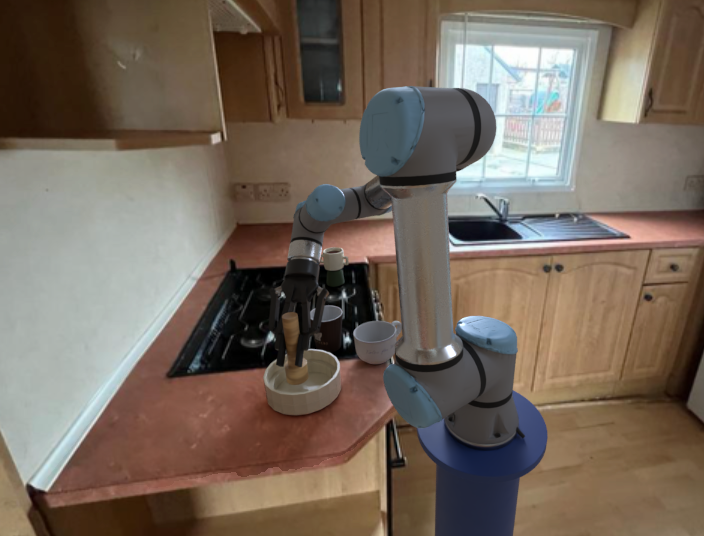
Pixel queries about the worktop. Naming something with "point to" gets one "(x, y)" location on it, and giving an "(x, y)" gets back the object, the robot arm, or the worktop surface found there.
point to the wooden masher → (293, 350)
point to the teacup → (376, 340)
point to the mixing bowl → (304, 385)
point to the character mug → (334, 265)
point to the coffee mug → (329, 329)
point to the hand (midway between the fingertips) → (289, 365)
